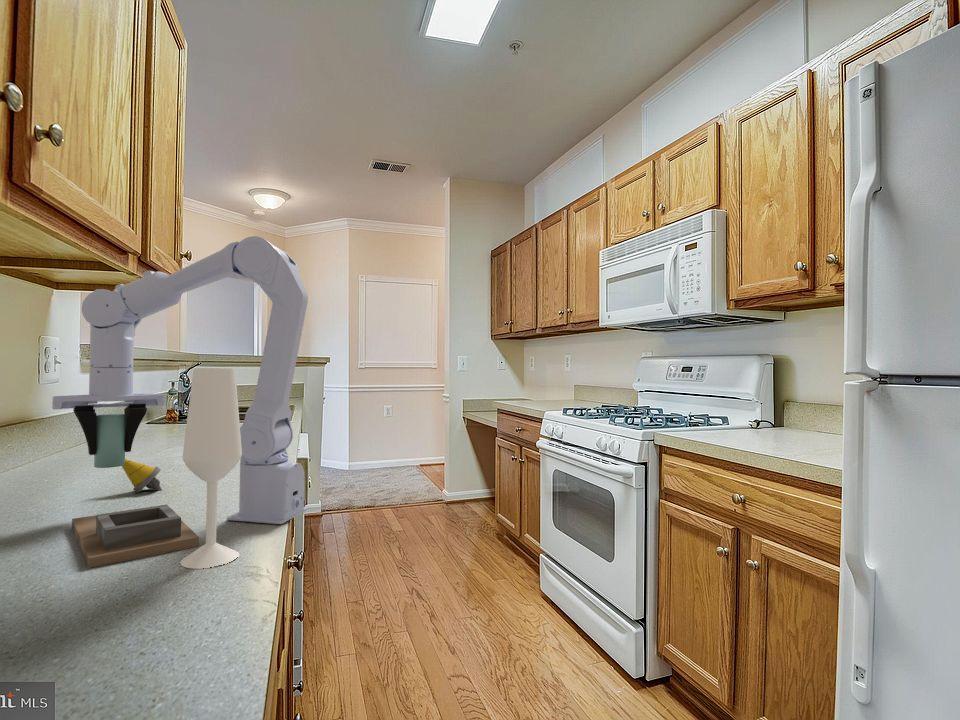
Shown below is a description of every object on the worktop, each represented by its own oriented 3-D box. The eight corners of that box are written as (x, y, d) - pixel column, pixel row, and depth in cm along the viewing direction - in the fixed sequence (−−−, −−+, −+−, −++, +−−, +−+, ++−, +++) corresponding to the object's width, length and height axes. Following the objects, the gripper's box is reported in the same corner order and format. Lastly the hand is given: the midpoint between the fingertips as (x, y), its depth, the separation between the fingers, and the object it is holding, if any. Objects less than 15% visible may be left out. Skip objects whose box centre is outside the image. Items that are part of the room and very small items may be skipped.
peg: (130, 463, 86) (132, 414, 86) (109, 468, 82) (110, 417, 82) (109, 462, 86) (110, 413, 86) (87, 467, 82) (88, 416, 82)
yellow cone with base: (157, 497, 96) (110, 463, 93) (146, 505, 99) (99, 471, 96) (177, 475, 101) (132, 441, 97) (166, 483, 104) (122, 450, 100)
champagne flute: (172, 570, 63) (176, 368, 63) (189, 550, 69) (193, 367, 69) (233, 566, 64) (237, 369, 64) (244, 547, 71) (248, 368, 71)
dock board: (199, 546, 71) (199, 518, 71) (88, 568, 63) (89, 537, 63) (164, 512, 86) (165, 489, 86) (72, 526, 78) (72, 501, 78)
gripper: (158, 367, 92) (157, 445, 92) (51, 366, 82) (49, 453, 82) (167, 368, 87) (166, 450, 87) (55, 367, 77) (53, 460, 77)
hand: (110, 452), depth 84 cm, fingers closed on peg, 4 cm apart
